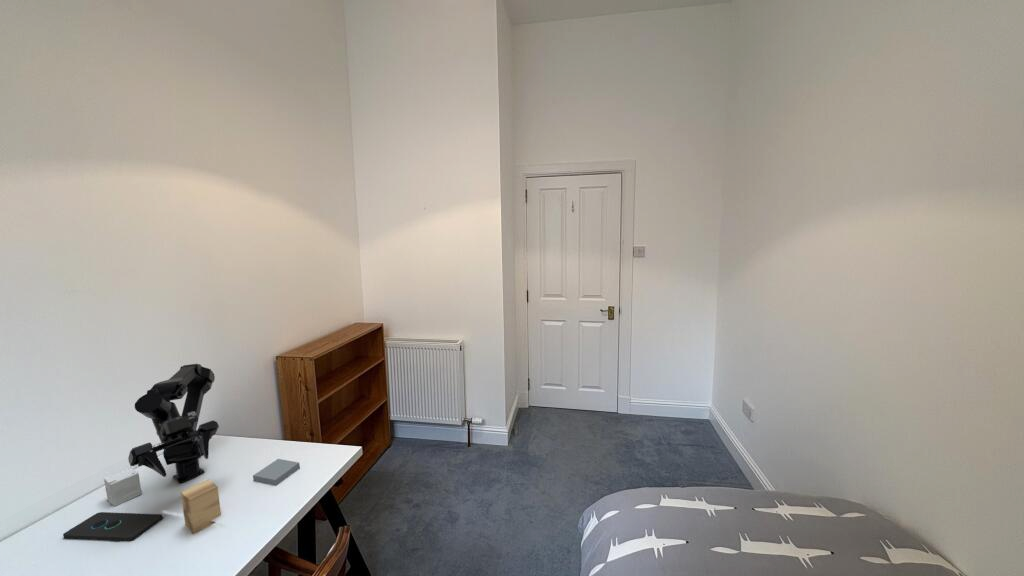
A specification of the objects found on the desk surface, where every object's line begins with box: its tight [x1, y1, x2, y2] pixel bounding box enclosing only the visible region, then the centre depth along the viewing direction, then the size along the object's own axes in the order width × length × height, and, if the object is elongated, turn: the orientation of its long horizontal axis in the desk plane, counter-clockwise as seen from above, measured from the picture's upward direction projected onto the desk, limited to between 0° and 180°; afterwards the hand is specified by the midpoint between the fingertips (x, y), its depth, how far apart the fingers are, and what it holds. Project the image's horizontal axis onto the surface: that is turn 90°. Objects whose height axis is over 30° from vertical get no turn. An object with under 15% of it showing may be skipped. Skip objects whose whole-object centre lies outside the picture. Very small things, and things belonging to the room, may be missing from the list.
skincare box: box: [103, 467, 143, 507], centre depth 107 cm, size 6×6×7 cm
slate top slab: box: [252, 458, 301, 486], centre depth 115 cm, size 9×9×2 cm
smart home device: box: [62, 511, 164, 542], centre depth 95 cm, size 8×2×20 cm
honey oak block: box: [180, 479, 222, 535], centre depth 96 cm, size 6×6×10 cm
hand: (187, 466), depth 99 cm, fingers open, 9 cm apart
